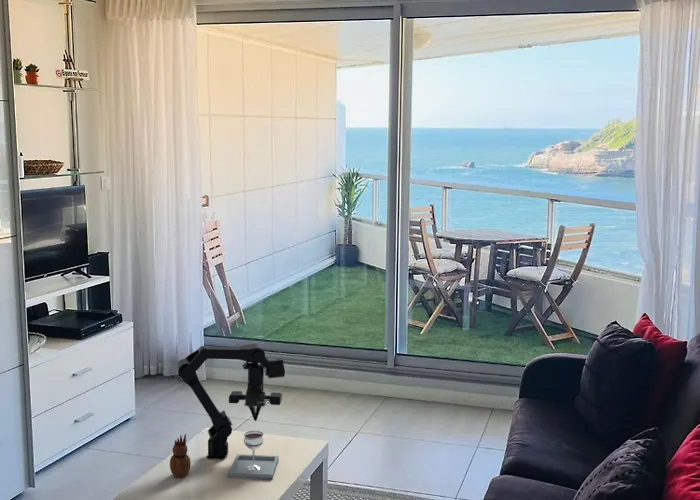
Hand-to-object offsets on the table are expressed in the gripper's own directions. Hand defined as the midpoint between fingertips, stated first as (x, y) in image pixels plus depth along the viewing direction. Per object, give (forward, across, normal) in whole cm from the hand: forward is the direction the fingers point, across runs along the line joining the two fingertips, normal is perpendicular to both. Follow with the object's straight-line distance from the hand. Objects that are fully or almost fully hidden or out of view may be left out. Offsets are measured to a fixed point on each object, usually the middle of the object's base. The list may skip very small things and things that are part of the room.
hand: (255, 420), depth 279 cm
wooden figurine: (+12, -22, -22) cm, 33 cm away
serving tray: (+12, +2, -14) cm, 19 cm away
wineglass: (+12, +2, -14) cm, 19 cm away
